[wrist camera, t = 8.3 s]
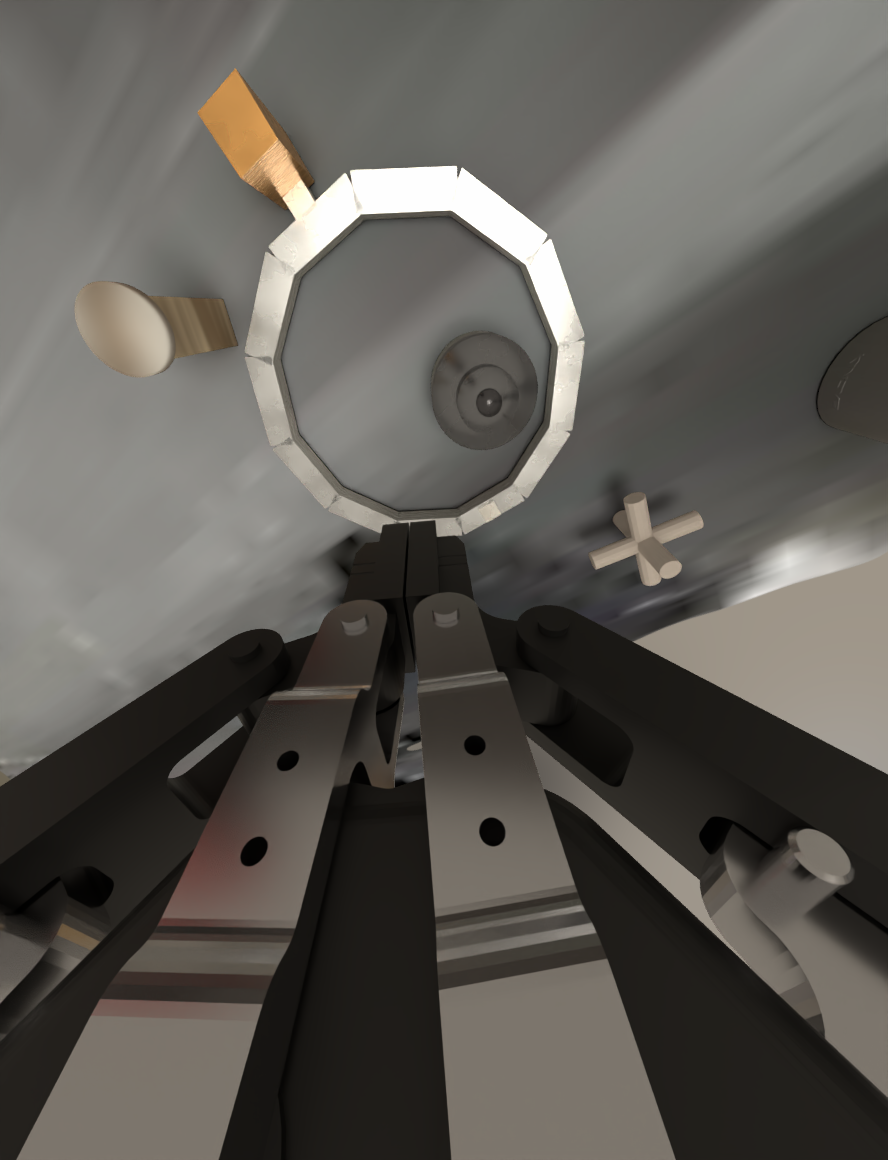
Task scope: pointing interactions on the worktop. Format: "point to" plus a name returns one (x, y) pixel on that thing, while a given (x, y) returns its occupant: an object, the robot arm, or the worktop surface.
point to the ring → (324, 224)
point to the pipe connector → (646, 540)
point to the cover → (483, 390)
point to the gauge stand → (148, 327)
